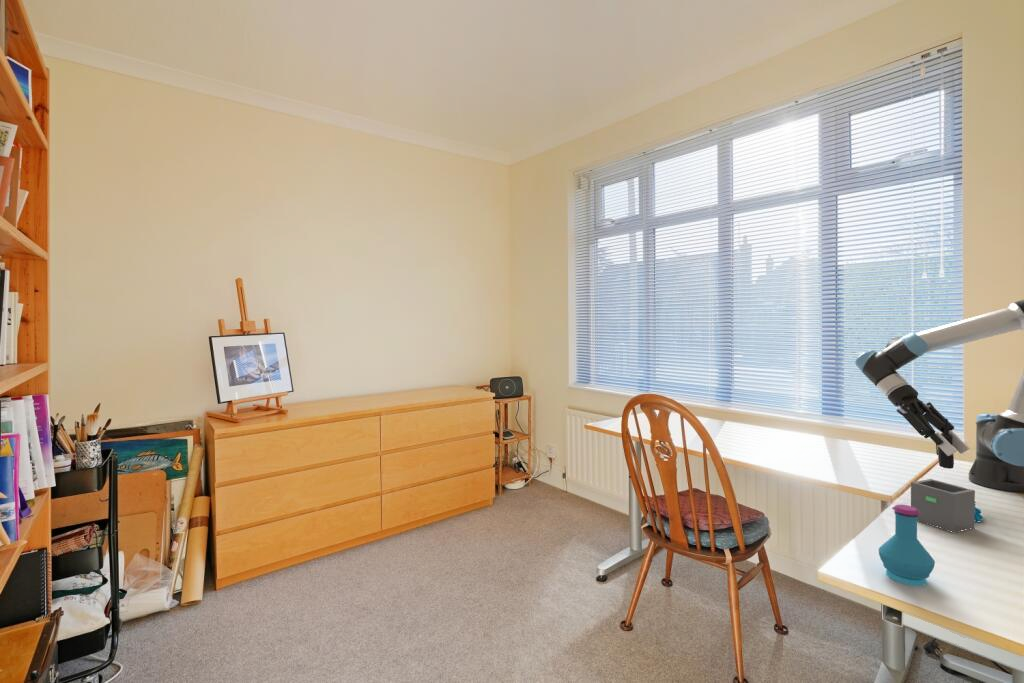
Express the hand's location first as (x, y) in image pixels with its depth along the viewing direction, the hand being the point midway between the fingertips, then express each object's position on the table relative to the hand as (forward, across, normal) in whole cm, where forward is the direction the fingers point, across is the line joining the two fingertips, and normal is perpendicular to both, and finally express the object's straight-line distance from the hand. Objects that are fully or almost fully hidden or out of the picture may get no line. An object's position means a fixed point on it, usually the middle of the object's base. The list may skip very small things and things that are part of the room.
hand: (958, 452), depth 140 cm
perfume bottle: (+26, +59, +5) cm, 65 cm away
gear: (+16, +11, -6) cm, 20 cm away
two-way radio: (+1, 0, -6) cm, 7 cm away
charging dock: (+16, +21, -5) cm, 27 cm away
